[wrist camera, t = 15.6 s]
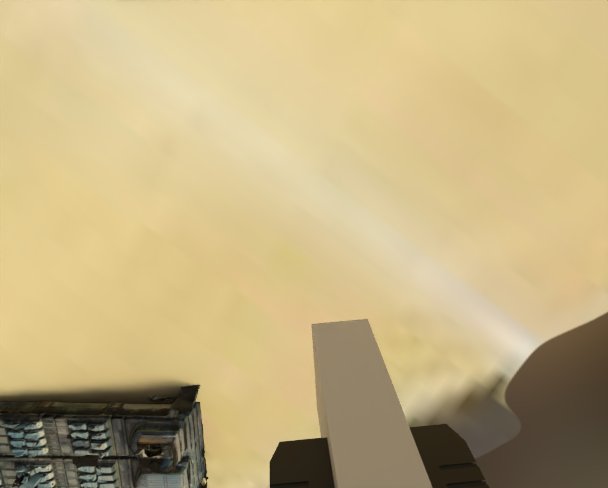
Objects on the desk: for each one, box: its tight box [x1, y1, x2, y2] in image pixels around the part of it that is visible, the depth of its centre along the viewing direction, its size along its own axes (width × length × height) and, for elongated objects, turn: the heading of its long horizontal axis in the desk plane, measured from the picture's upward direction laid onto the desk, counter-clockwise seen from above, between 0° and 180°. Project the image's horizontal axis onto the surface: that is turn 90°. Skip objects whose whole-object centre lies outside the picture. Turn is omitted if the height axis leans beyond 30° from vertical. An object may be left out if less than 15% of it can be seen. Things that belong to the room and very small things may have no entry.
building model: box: [0, 385, 208, 488], centre depth 48 cm, size 14×7×30 cm
